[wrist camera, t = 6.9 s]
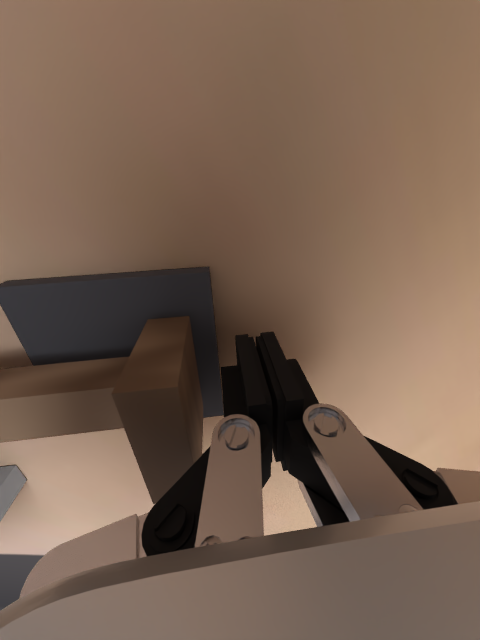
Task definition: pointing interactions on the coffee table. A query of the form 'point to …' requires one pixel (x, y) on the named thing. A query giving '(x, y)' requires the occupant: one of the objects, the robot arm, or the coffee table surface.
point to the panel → (114, 318)
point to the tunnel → (9, 486)
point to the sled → (118, 401)
